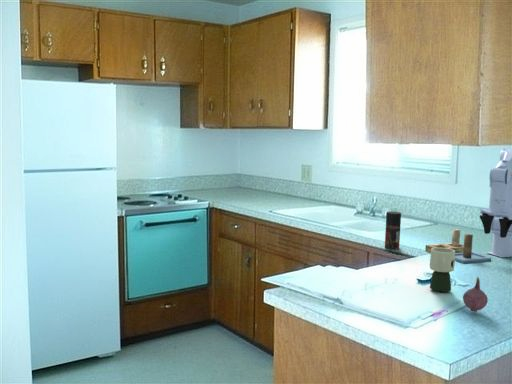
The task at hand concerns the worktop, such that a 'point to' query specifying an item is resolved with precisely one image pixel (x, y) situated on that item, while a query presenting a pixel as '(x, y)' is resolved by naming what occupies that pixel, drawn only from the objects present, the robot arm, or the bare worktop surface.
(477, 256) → the tray
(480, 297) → the vegetable
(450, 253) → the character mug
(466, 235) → the walnut dowel
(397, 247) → the deodorant
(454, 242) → the birch dowel
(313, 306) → the worktop surface
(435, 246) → the holder block
